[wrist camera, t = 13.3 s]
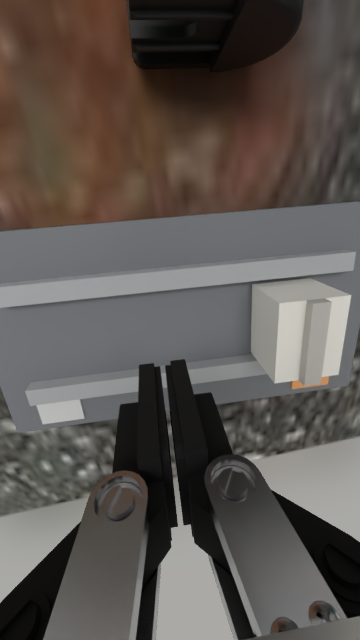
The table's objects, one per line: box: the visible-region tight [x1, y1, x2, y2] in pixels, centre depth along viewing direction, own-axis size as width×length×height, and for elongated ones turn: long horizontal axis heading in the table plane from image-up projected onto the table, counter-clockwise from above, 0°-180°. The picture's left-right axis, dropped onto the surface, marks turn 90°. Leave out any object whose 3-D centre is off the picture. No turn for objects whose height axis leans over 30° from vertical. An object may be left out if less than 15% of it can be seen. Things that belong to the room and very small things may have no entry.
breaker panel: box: [0, 201, 360, 433], centre depth 19 cm, size 14×26×2 cm, turn 94°
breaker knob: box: [251, 278, 351, 386], centre depth 17 cm, size 5×4×5 cm
